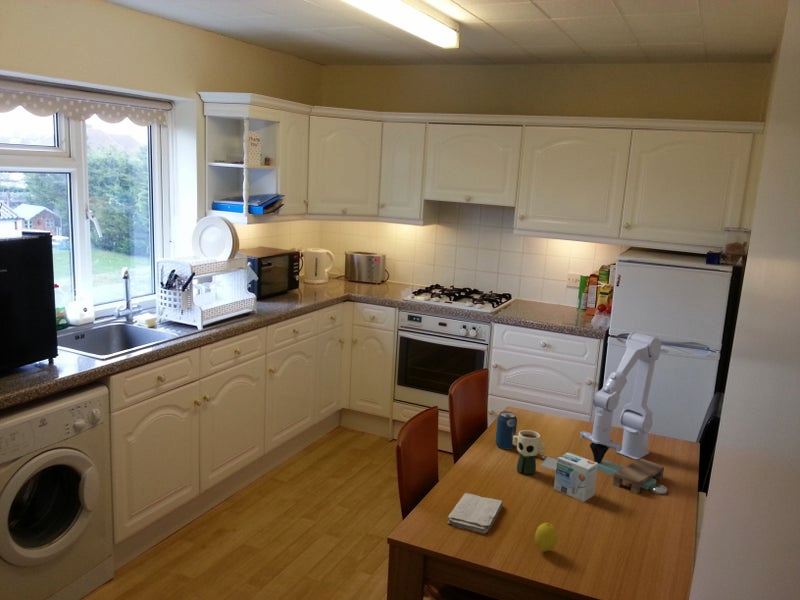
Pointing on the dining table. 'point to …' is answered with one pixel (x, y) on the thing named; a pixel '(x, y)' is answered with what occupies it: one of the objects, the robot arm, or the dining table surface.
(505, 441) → the soda can
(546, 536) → the lemon
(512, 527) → the dining table surface
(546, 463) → the kitchen cleaver
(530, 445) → the character mug
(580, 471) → the light bulb box
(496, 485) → the dining table surface
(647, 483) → the slat
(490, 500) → the washcloth
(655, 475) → the shelf
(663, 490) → the steel disc
